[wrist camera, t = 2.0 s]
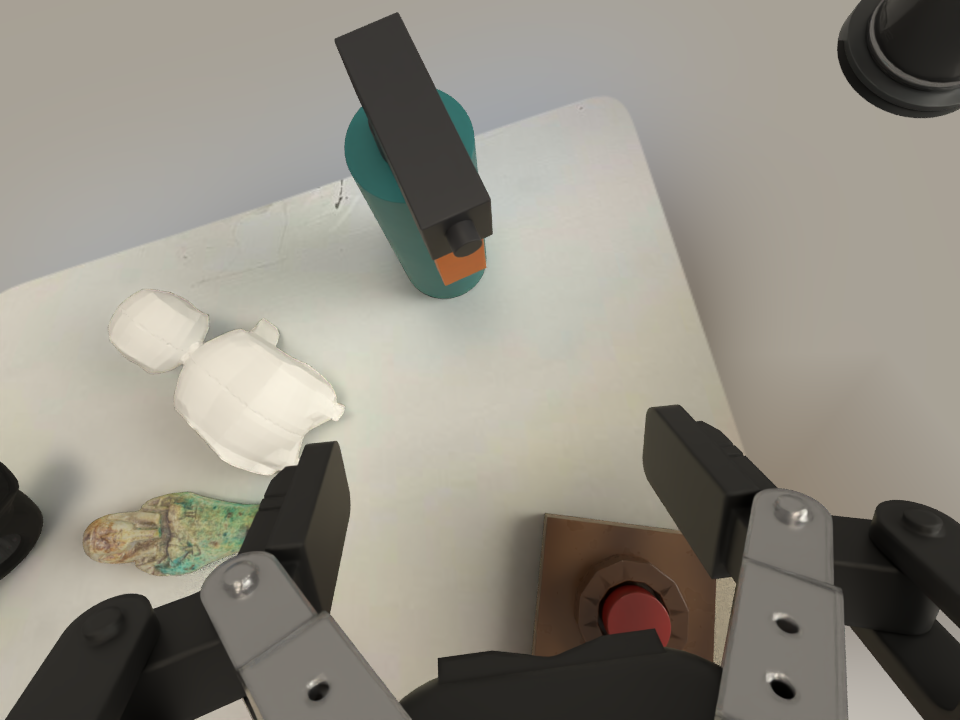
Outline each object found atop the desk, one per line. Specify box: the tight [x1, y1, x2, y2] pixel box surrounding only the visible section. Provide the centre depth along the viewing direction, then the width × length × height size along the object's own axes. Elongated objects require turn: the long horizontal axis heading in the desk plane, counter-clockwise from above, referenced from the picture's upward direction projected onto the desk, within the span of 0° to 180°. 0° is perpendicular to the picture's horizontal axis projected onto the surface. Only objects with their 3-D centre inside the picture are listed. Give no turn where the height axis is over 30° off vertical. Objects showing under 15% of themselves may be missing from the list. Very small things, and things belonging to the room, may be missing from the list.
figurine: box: [83, 492, 260, 576], centre depth 34 cm, size 6×15×4 cm, turn 87°
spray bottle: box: [335, 13, 493, 298], centre depth 29 cm, size 11×6×20 cm, turn 24°
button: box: [602, 585, 671, 647], centre depth 30 cm, size 4×4×2 cm
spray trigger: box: [434, 239, 486, 286], centre depth 24 cm, size 1×2×5 cm, turn 114°
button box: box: [532, 513, 716, 662], centre depth 32 cm, size 11×10×4 cm
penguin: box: [108, 289, 346, 475], centre depth 34 cm, size 8×8×15 cm
